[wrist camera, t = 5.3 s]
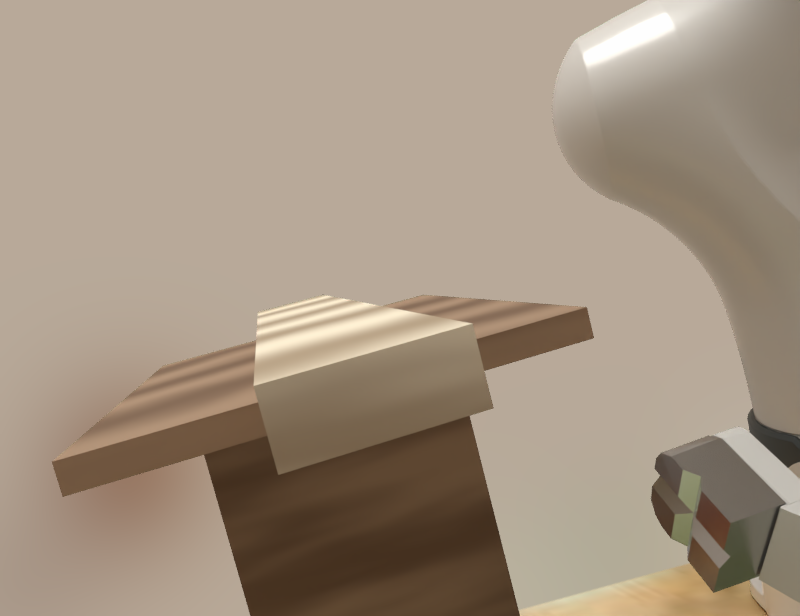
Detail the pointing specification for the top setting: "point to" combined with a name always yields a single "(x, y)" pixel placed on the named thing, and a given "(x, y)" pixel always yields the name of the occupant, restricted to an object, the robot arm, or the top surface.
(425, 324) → the birch slat
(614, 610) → the top surface
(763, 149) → the robot arm
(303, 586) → the walnut stand
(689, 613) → the top surface
